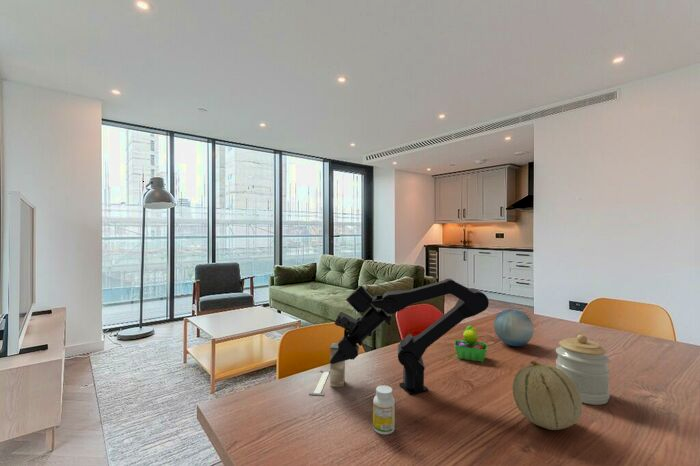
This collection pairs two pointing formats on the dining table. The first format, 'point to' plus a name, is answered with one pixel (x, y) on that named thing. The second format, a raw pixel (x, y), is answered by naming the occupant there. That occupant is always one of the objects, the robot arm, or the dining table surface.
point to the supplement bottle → (384, 410)
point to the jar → (585, 368)
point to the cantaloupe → (547, 396)
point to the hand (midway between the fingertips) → (333, 356)
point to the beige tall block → (336, 369)
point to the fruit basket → (470, 346)
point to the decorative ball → (513, 327)
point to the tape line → (321, 383)
